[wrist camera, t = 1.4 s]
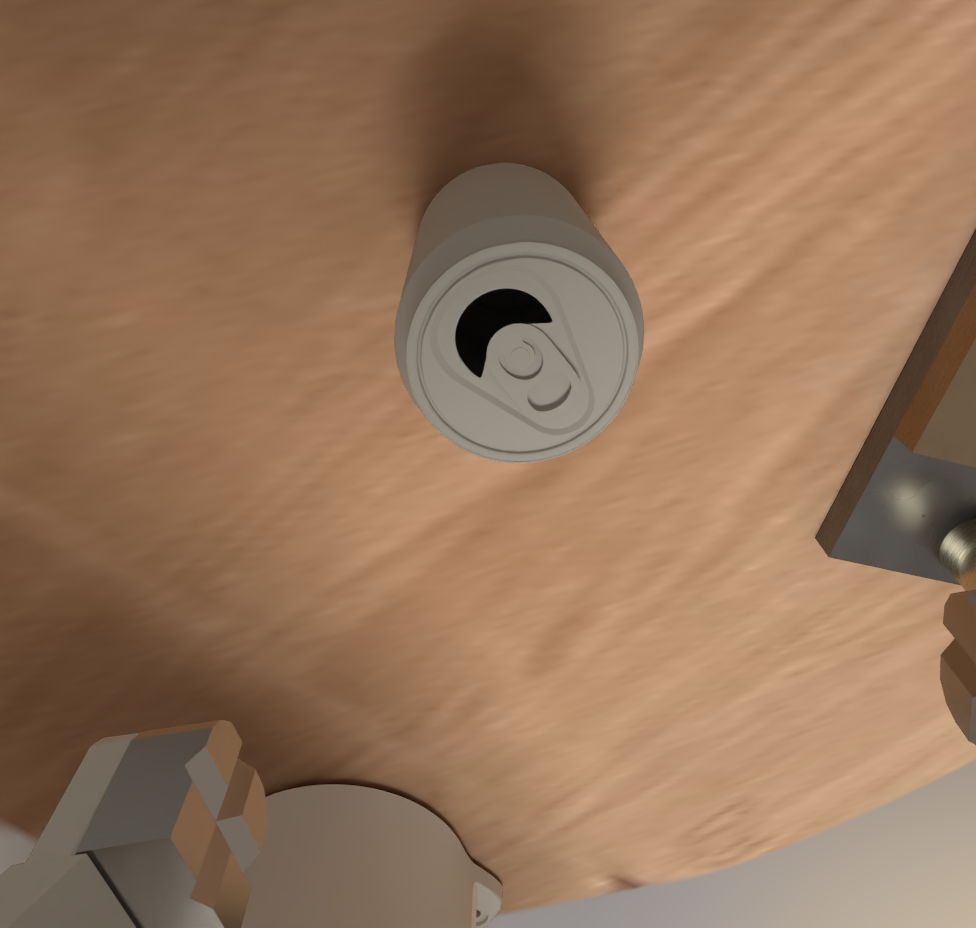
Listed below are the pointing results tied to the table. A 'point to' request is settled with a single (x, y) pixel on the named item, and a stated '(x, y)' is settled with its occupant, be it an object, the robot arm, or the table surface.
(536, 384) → the beverage can
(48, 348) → the table surface
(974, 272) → the plate with brass posts
